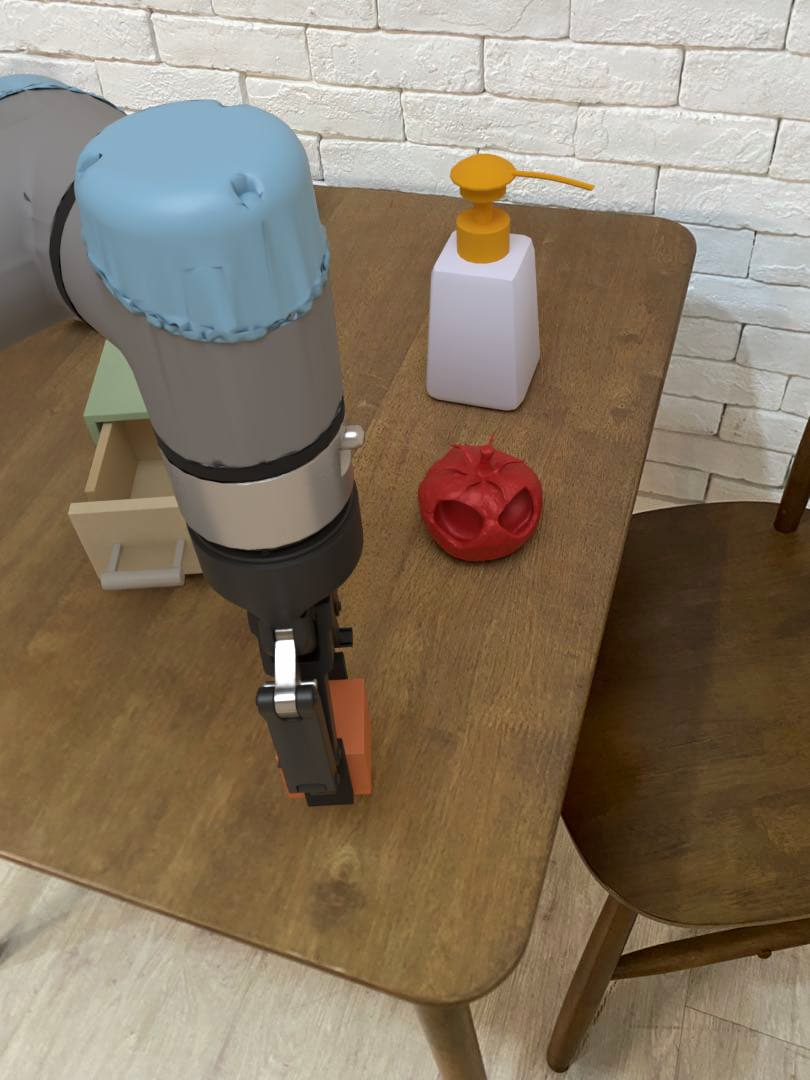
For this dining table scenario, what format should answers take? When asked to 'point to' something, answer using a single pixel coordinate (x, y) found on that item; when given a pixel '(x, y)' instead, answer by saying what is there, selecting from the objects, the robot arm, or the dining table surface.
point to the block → (351, 732)
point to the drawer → (132, 513)
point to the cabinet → (113, 393)
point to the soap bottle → (485, 295)
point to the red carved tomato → (480, 502)
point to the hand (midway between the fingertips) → (331, 756)
